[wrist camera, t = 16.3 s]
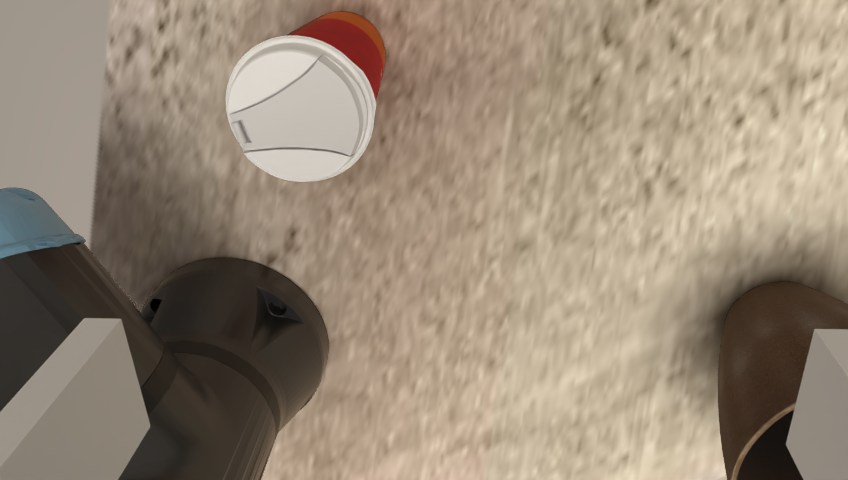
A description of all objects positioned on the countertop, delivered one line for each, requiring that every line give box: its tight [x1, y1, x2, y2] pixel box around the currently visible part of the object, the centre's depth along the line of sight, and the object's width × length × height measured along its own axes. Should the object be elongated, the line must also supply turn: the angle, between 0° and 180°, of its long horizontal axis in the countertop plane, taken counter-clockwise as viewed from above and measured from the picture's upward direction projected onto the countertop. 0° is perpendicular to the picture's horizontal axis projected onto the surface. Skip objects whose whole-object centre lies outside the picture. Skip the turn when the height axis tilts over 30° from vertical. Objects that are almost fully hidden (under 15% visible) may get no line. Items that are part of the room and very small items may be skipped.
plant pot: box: [718, 282, 848, 480], centre depth 48 cm, size 15×15×16 cm
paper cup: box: [226, 12, 385, 182], centre depth 42 cm, size 8×8×14 cm
